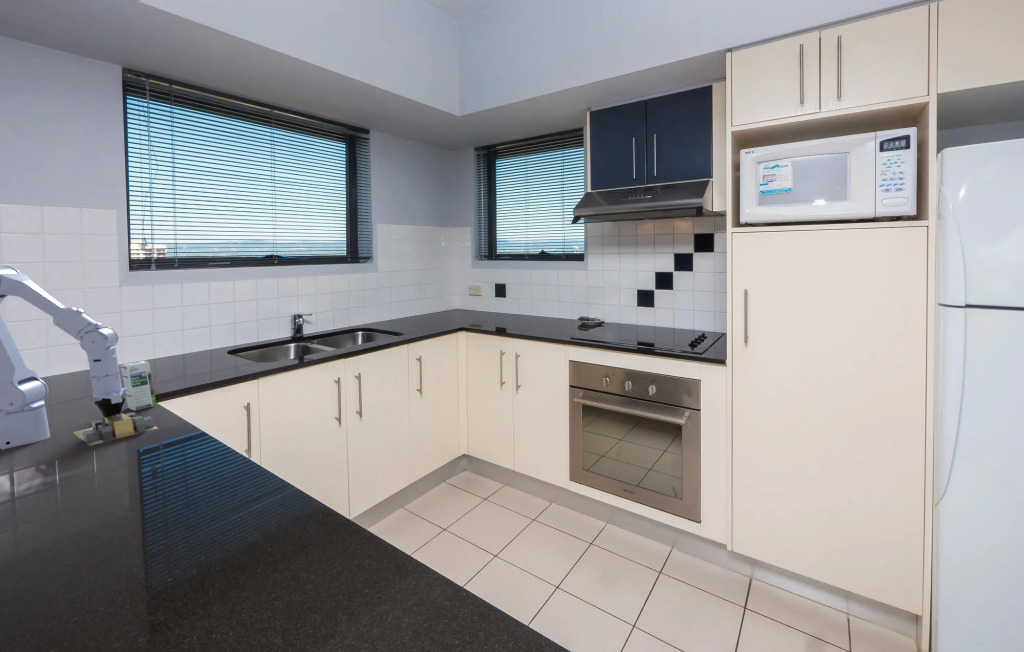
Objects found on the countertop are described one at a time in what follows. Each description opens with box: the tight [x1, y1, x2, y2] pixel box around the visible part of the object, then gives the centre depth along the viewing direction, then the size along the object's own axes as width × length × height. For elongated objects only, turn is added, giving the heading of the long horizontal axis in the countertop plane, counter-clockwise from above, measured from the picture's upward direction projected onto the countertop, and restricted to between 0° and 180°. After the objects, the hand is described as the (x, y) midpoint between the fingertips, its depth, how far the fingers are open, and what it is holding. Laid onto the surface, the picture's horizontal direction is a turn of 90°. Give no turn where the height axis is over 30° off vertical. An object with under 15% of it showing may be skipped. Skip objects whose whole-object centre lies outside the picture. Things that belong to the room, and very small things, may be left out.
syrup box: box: [120, 360, 157, 411], centre depth 150 cm, size 6×6×14 cm
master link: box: [104, 412, 135, 440], centre depth 125 cm, size 4×8×4 cm, turn 51°
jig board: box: [71, 425, 158, 446], centre depth 129 cm, size 14×18×1 cm
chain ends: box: [82, 411, 155, 444], centre depth 126 cm, size 14×9×4 cm, turn 141°
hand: (113, 426), depth 129 cm, fingers closed
